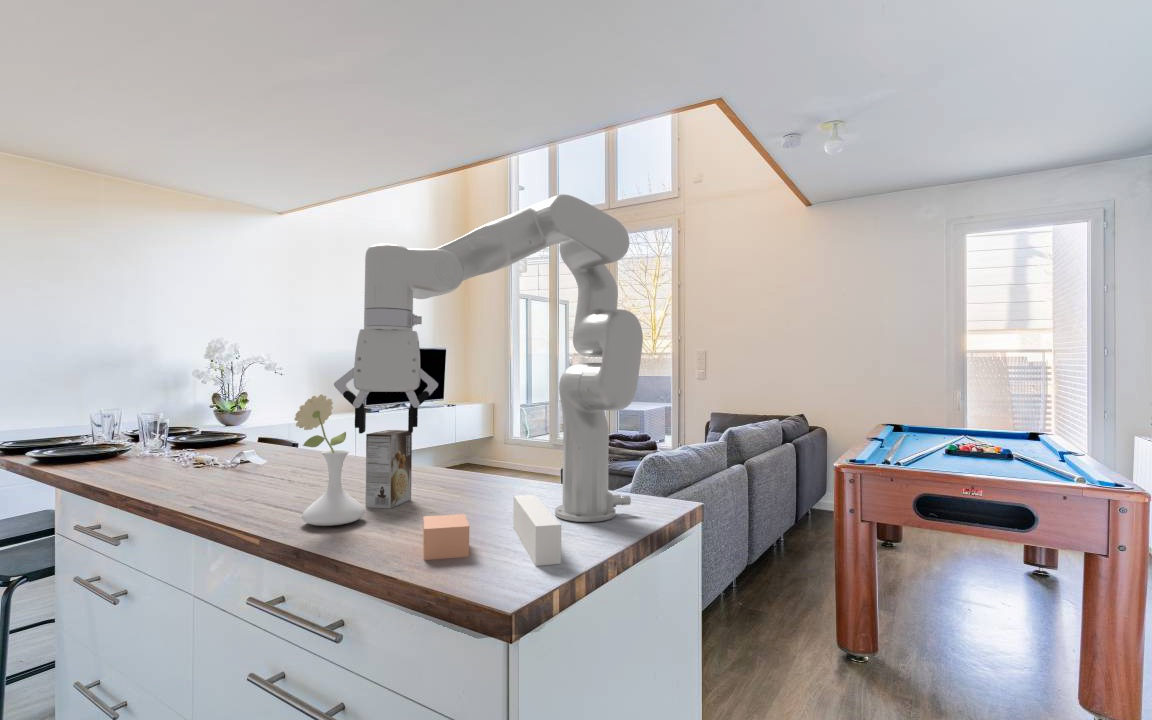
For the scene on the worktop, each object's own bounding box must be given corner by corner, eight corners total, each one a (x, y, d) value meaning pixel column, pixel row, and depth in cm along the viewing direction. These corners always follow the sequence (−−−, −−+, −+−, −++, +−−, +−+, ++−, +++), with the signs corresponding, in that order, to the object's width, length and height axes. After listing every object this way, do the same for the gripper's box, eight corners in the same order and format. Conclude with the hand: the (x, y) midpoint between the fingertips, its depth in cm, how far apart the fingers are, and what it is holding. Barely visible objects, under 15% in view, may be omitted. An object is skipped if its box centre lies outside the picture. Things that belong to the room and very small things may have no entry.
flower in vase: (351, 512, 117) (354, 392, 117) (375, 523, 108) (377, 394, 109) (283, 523, 108) (286, 393, 108) (303, 536, 99) (306, 395, 100)
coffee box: (386, 498, 130) (387, 429, 131) (411, 500, 129) (413, 430, 129) (364, 507, 121) (365, 433, 122) (391, 509, 120) (392, 434, 120)
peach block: (464, 543, 97) (465, 514, 97) (468, 557, 89) (469, 526, 90) (422, 546, 95) (423, 516, 95) (423, 561, 87) (424, 529, 88)
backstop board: (533, 526, 107) (534, 494, 108) (560, 563, 86) (561, 524, 86) (513, 527, 106) (513, 495, 106) (535, 565, 85) (535, 526, 85)
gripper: (442, 325, 97) (441, 429, 96) (334, 322, 92) (332, 430, 92) (444, 322, 90) (442, 433, 89) (327, 318, 85) (324, 435, 85)
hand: (386, 431), depth 90 cm, fingers open, 6 cm apart
